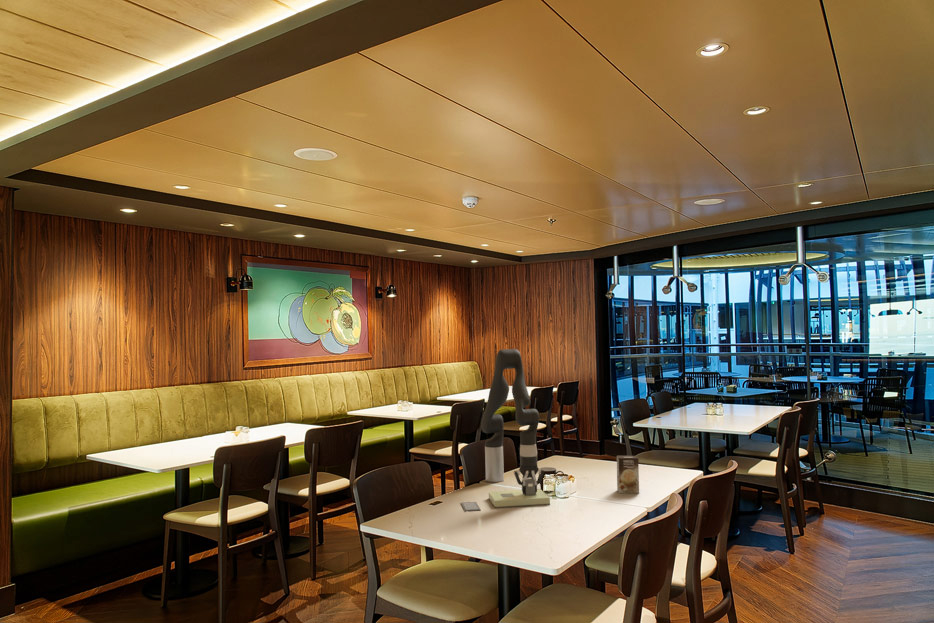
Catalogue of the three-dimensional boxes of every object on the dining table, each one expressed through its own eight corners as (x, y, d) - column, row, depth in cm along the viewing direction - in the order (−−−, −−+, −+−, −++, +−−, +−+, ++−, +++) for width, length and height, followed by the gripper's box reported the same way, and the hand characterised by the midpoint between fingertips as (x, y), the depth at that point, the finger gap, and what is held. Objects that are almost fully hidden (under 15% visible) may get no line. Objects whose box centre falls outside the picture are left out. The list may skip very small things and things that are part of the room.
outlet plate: (488, 498, 271) (488, 491, 271) (540, 495, 274) (540, 488, 274) (495, 508, 255) (494, 500, 255) (550, 504, 258) (549, 497, 258)
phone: (460, 504, 264) (460, 502, 264) (475, 504, 265) (475, 501, 265) (465, 513, 251) (465, 510, 251) (480, 512, 252) (480, 509, 252)
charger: (524, 494, 267) (523, 478, 267) (533, 494, 268) (532, 478, 268) (526, 496, 263) (525, 480, 263) (535, 496, 263) (534, 480, 264)
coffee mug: (536, 492, 281) (536, 470, 281) (540, 487, 289) (540, 466, 289) (561, 493, 277) (560, 471, 277) (564, 489, 285) (564, 467, 286)
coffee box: (619, 493, 275) (618, 458, 276) (617, 490, 281) (615, 455, 282) (639, 493, 274) (638, 457, 275) (637, 490, 280) (635, 455, 281)
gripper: (541, 452, 271) (543, 490, 270) (511, 453, 269) (512, 492, 268) (546, 455, 264) (547, 495, 263) (514, 456, 262) (515, 496, 261)
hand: (529, 493), depth 265 cm, fingers closed on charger, 3 cm apart
